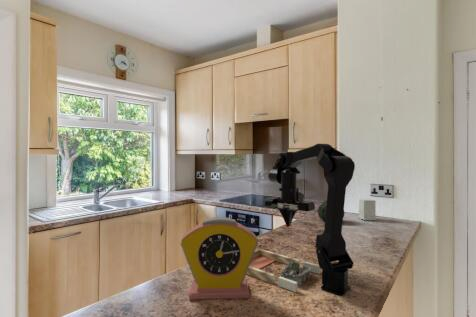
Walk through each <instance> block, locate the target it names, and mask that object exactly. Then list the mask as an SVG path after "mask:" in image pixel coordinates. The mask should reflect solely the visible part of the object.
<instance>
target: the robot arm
mask: <svg viewBox="0 0 476 317" xmlns="http://www.w3.org/2000/svg"><path fill="white" fill-rule="evenodd" d="M315 159H317V163H318V165H319V166H320V167H321V168H322V169H323V177H324V179H325V181H326V184H327V194H326V195H327V196H326V200H327V205H326V216H325V220H324V229H323V232H322V233H320V234H317V235H316V238H315V241H316V243H315V246H314V248H315V249H316V250H315V254H316V256H317V261H318V265H319V267H320V268H321V284H322V286H320V289H321V290H323V291H327V292H329V293H331V294H335V295H338V296H341V297H342V296H344V295H345V294H346V293H347V292H348V291H349V290H350V289H351V287H350V285H349V270H351V269H353V266H354V261H353V259H352V258H351V256H350V254H349V253H348V250H347V248H346V247H347V246H346V245H347V244H346V240H345V238H344V237H343V236H344V235H343V234H342V230H343V220H344V217H343V212H344V213H345V202H346V199H345V198H346V190H347V187H348V185H349V183H350V181H352V179H353V176H354V172H355V169H356V168H355V167H356V166H355V165H356V164H355V162H354V161H353V158H351V157H350V156H347V155H346V154H345V153H343V152H341V151H339V150H337V149H336V148H334V147H333V146H332V145H331V144H328V143H316V144H315V145H311V146H309V147H306V148H302V149H299V150H296V151H281V152H279V155H278V158H277V159H276V162H275V163H274V165H273V166H272V169H271V170H270V171H269V172H268V180H269V182H271V183H273V184H280V187H279V188H278V191H280V197H277V196H276V197H275V196H271V197H266V198H265V199H264V206H267V207H272V206H273V205H277V208H276V210H278V211H279V213H280V215H281V216H282V218H283V221H284V223H285V226H286V227H288V228H289V227H291V225H292V223H293V220H294V216H295V214H296V213H297V212H298V211H301V212H311V211H313V210H315V209H316V204H315V202H314V201H309V200H304V199H305V194H303V193H302V192H300V191H299V187H297V183H298V182H297V179H298V178H297V175H298V174H299V175H300V174H301V171H300V170H299V169H298V168H297V167H299V166H300V165H302V164H303V163H304V162H306V161H311V160H315Z"/></svg>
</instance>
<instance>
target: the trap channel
mask: <svg viewBox="0 0 476 317" xmlns="http://www.w3.org/2000/svg"><path fill="white" fill-rule="evenodd" d="M292 260H294V262H297V263H299V265H300V266H301V260H300V259H298V258H295V257H290V256H287V255H283V254H281V253H276V252H274V251H273V252H272V251H268V250H266V249H262V248H256V249H255V252H254V254H253V257H252V260H251V262H250V265H249V268H248V270H247V273H246V275H248V276H250V277H252V278H253V277H254V278H256V279H258V280H260V281H264V282H266V283H269V284H275V281H276V280H275V277H276V275H275V274H274V273H271V272H269V271H267V270H262V269H264V268H265V267H267V266H268V265H271V264H273V263H275V262H277V263H281V264H284V265H286V266H288V264H289V262H291V261H292Z"/></svg>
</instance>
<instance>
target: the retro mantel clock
mask: <svg viewBox="0 0 476 317" xmlns="http://www.w3.org/2000/svg"><path fill="white" fill-rule="evenodd" d="M180 241H181V242H180V246H181V248H182V252H183V254H184V257H185V259H186V261H187V264H188V267H189V270H190V272H191V274H192V277H193V280H191V281H192V282H191V285H190V288H189V294H188V299H189V300H190V301H192V300H230V299H231V300H234V299H235V300H236V299H249V298H250V288H249V284H248V280H247V279H246V275H247V274H246V273H247V270H248V268H249V265H250V262H251V260H252V257H253V254H254V252H255V250H256V249H257V246H258V237H257V236H256V234H255V233H254V232H253V231H252V230H251V229H250V228H248V227H247V226H245V225H244V224H242V223H239V222H237V221H236V219H234V218H230V217H225V216H215V217H209V218H206V219H204V220H203V221H202V222H201V223H198V224H197V225H195V226H194V227H192V228H190V229H189V230H188V231H186V233H184V234H183V236H182V238H181V240H180Z"/></svg>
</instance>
